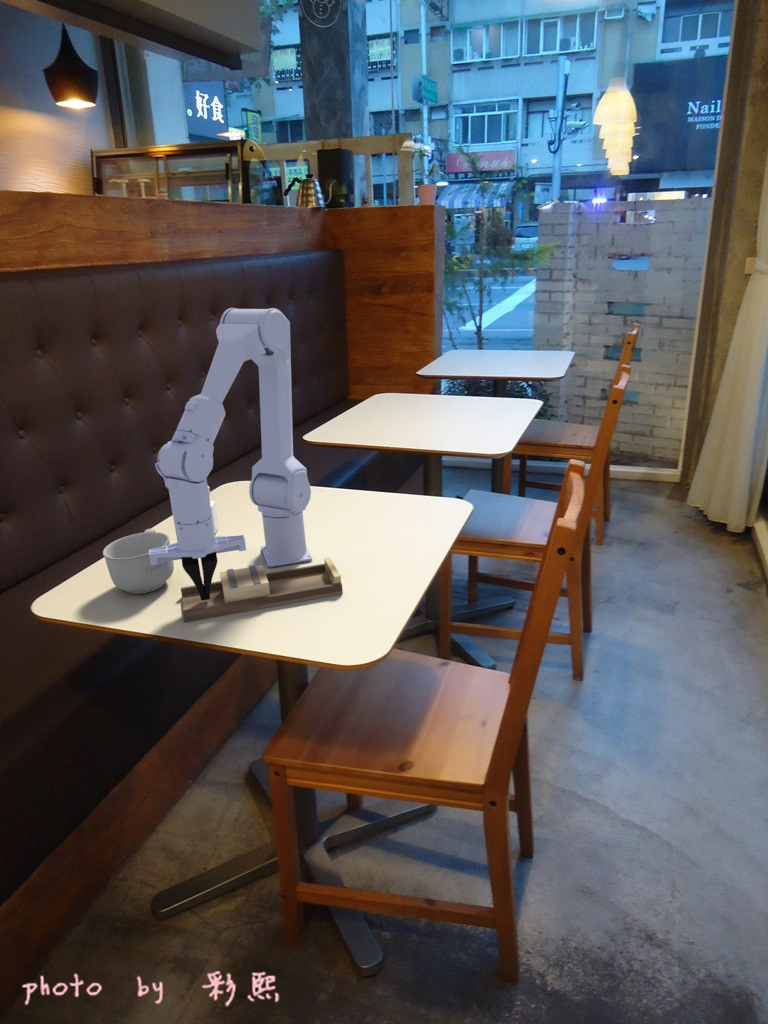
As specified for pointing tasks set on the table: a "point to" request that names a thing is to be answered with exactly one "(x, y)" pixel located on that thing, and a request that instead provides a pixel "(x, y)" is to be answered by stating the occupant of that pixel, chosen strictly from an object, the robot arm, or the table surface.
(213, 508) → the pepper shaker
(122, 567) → the teacup
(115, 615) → the table surface
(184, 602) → the bay
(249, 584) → the banded tan block
